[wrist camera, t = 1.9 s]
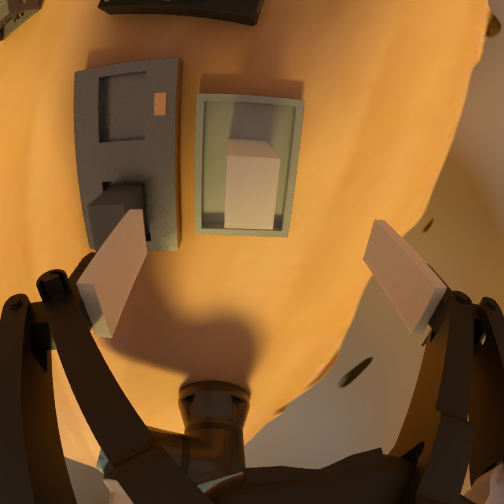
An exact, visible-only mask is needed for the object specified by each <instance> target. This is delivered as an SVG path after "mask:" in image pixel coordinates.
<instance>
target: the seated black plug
mask: <svg viewBox="0 0 504 504" xmlns="http://www.w3.org/2000/svg"><path fill="white" fill-rule="evenodd" d="M130 209H142V210H143V221H144V230H145V234H146V232H147V230H148V227H147V216H146V205H145V191H144V183H121V184H112V185H111V186H110V187H109V188H107V189H106V190H105V191H104V192H103V193H101V194H100V195H99V196H98V197H97V198H96V199H94V200H93V201H92V202H91V203H90V204H89V205H88V212H89V218H90V224H91V230H92V235H93V240H94V245H95V250H96V253H97V252H98V250H99V249H100V248H101V246H102V245H103V243H104V242H105V241H106V239H107V238H108V237H109V235H110V234H111V233H112V231H113V230H114V229H115V227H116V226H117V225H118V223H119V222H120V221H121V220H122V218H123V217H124V216H125V215H126V213H127V212H128V211H129V210H130Z"/></svg>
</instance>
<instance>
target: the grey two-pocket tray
mask: <svg viewBox="0 0 504 504" xmlns="http://www.w3.org/2000/svg"><path fill="white" fill-rule="evenodd" d="M181 76H182V60H181V59H180V58H179V57H175V58H161V59H150V60H140V61H132V62H125V63H119V64H113V65H107V66H101V67H96V68H92V69H87V70H82V71H78V72H75V76H74V133H75V150H76V162H77V172H78V181H79V189H80V196H81V203H82V209H83V215H84V221H85V226H86V232H87V237H88V242H89V246H90V249H95V245H94V240H93V235H92V230H91V224H90V218H89V212H88V205H89V204H90V203H91V202H92V201H93V200H94V199H96V198H97V197H98V196H99V195H100V194H101V193H103V192H104V191H105V190H106V189H107V188H109V187H110V186H111V185H112V184H121V183H144V191H145V205H146V216H147V227H148V230H147V232H146V234H145V239H146V247H147V250H155V251H178V250H179V247H180V244H181V226H180V198H179V121H180V94H181Z"/></svg>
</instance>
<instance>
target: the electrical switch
mask: <svg viewBox="0 0 504 504" xmlns="http://www.w3.org/2000/svg"><path fill="white" fill-rule="evenodd" d="M40 9H41V7H40V3H39V0H0V41H2V40H4V39H5V38H6V37H7V36H8V35H9V34H11V33H12V32H13V31H14V30H15V29H16V28H18V27H19V26H20V25H21V24H22V23H23V22H25V21H26V20H27V19H28V18H30V17H31V16H32V15H34V14H35V13H36V12H37V11H39V10H40ZM23 11H24V15H25V16H24V15H23ZM32 12H33V13H32ZM19 13H21V17H20V18H19V19H17V18H16V15H18V14H19ZM12 18H13V19H12ZM15 22H16V23H15ZM3 26H4V27H3ZM3 38H4V39H3Z"/></svg>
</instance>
